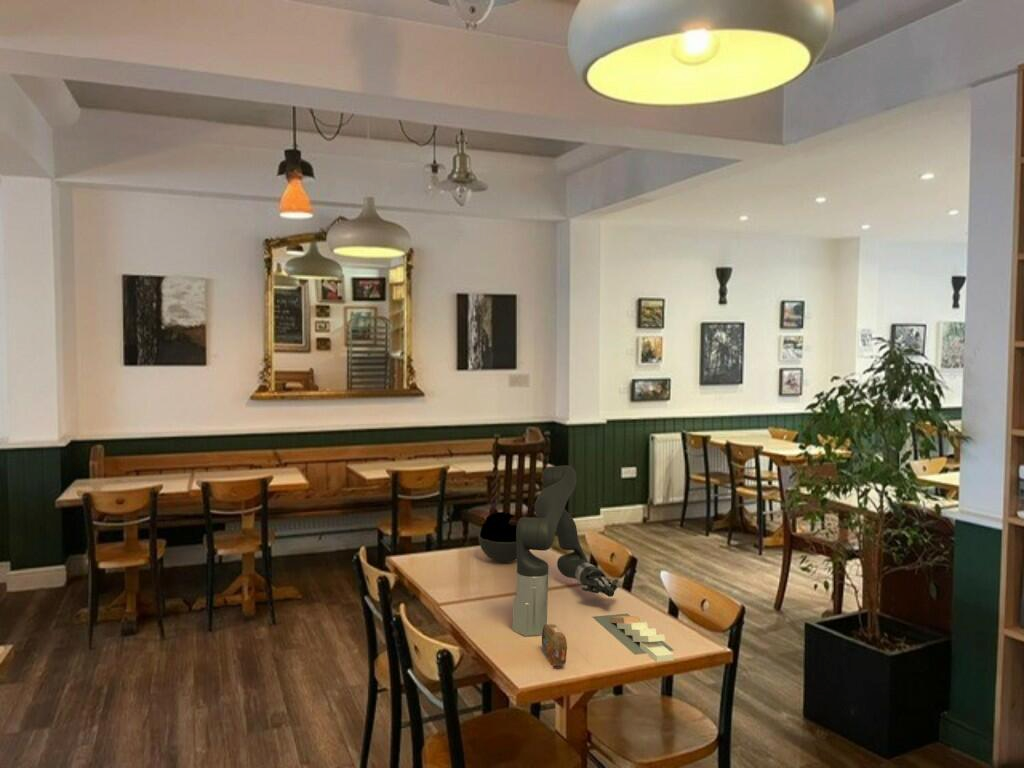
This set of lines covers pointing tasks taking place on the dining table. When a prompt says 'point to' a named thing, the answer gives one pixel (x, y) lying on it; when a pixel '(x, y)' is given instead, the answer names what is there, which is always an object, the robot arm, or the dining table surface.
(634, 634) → the domino
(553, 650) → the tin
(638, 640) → the domino
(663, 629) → the dining table surface
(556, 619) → the dining table surface
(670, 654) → the domino
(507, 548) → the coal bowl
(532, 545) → the robot arm
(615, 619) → the domino
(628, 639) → the mat
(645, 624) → the domino
